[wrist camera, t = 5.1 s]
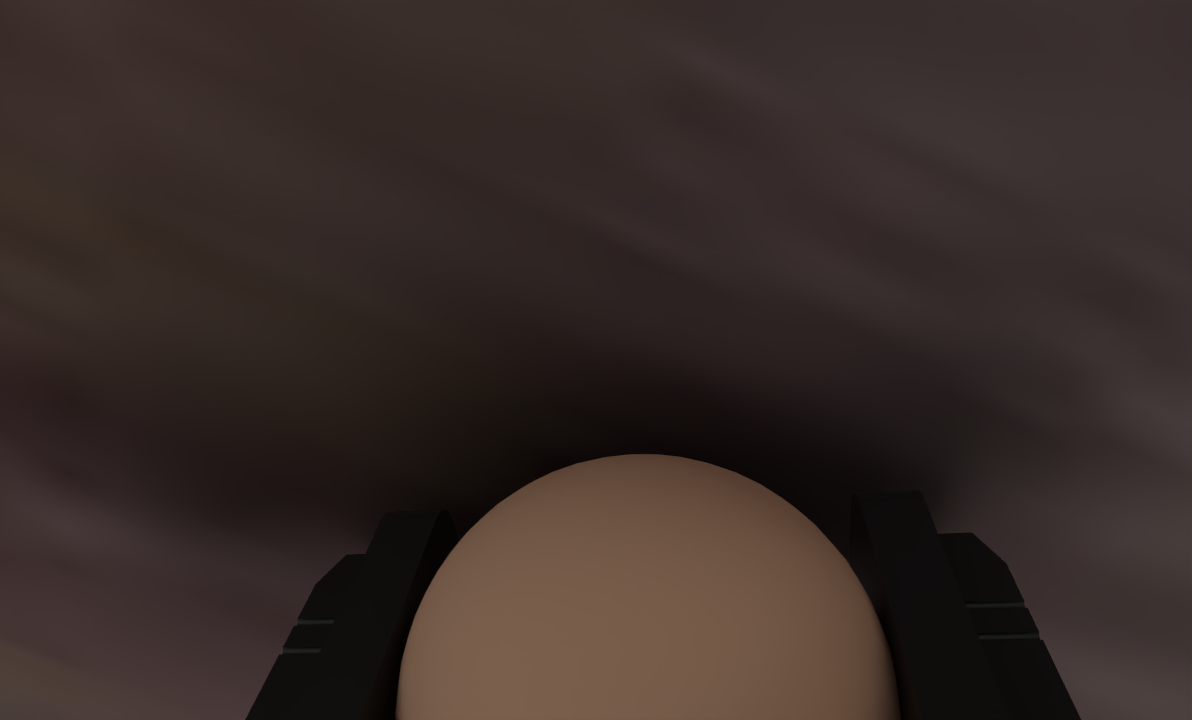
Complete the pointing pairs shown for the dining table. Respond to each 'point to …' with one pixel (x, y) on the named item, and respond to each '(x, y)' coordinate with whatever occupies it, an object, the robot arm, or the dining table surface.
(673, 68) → the dining table surface
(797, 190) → the dining table surface
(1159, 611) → the dining table surface
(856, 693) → the ball
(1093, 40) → the dining table surface
